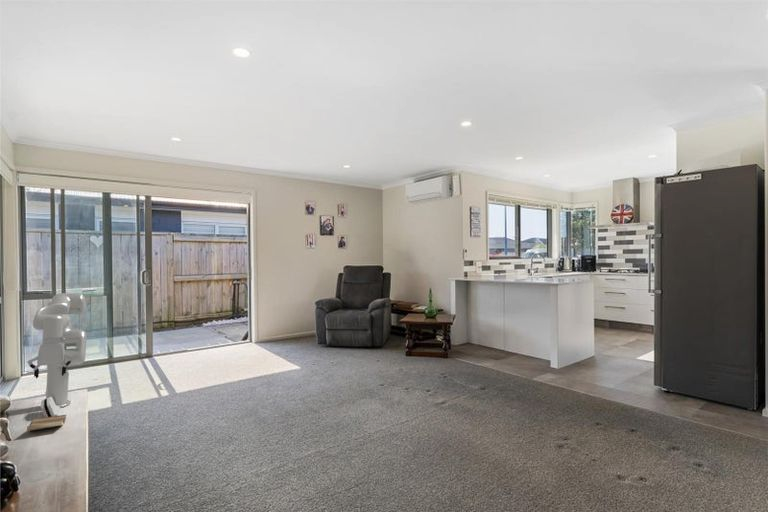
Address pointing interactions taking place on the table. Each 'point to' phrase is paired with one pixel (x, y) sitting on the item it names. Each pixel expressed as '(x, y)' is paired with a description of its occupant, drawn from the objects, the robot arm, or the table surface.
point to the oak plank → (45, 426)
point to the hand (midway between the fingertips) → (50, 376)
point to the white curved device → (49, 407)
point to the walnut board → (48, 420)
